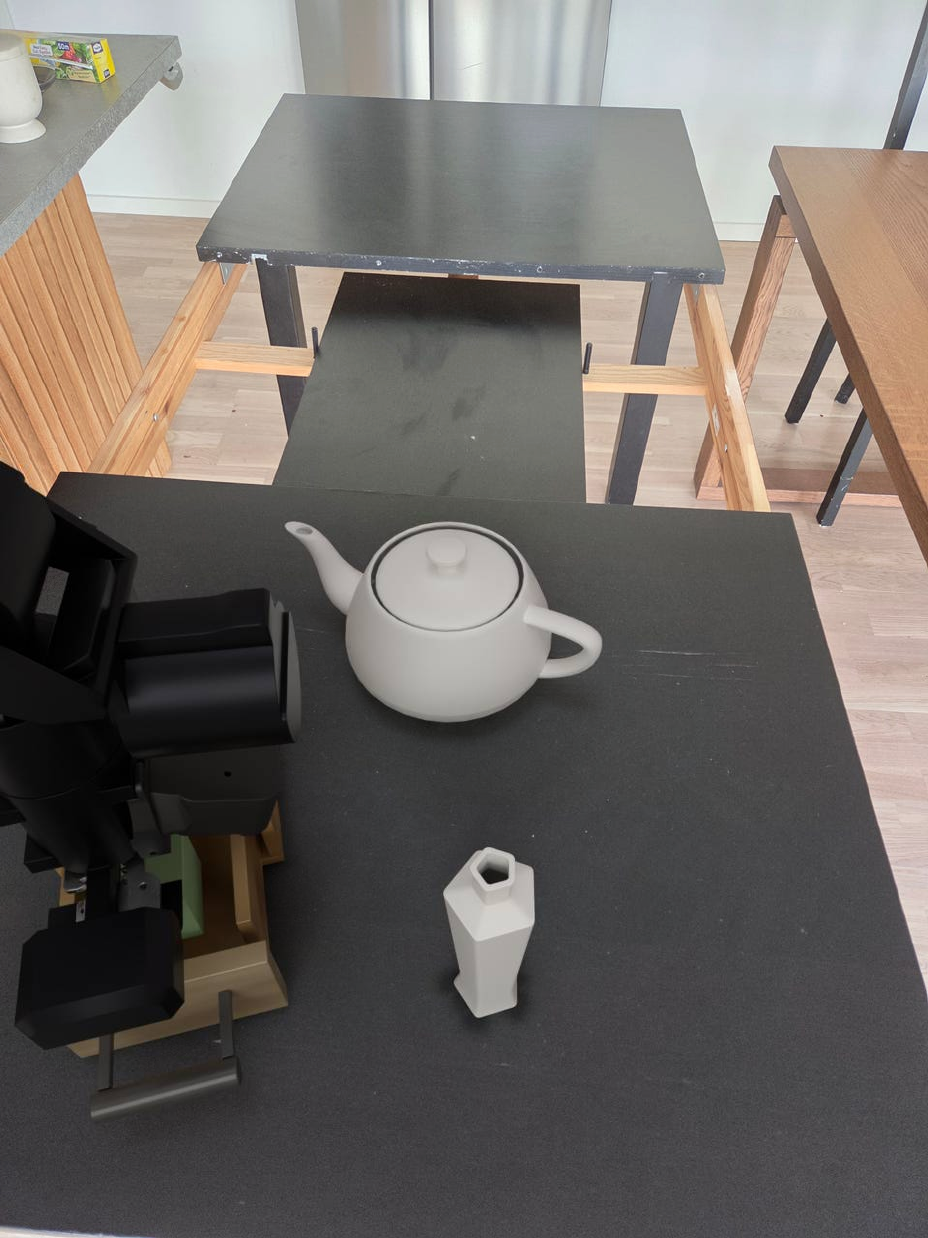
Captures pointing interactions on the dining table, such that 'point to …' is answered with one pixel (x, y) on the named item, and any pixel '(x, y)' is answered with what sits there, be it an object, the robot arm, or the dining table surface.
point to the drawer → (202, 983)
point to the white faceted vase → (490, 928)
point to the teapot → (447, 621)
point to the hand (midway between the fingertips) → (156, 899)
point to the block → (188, 869)
